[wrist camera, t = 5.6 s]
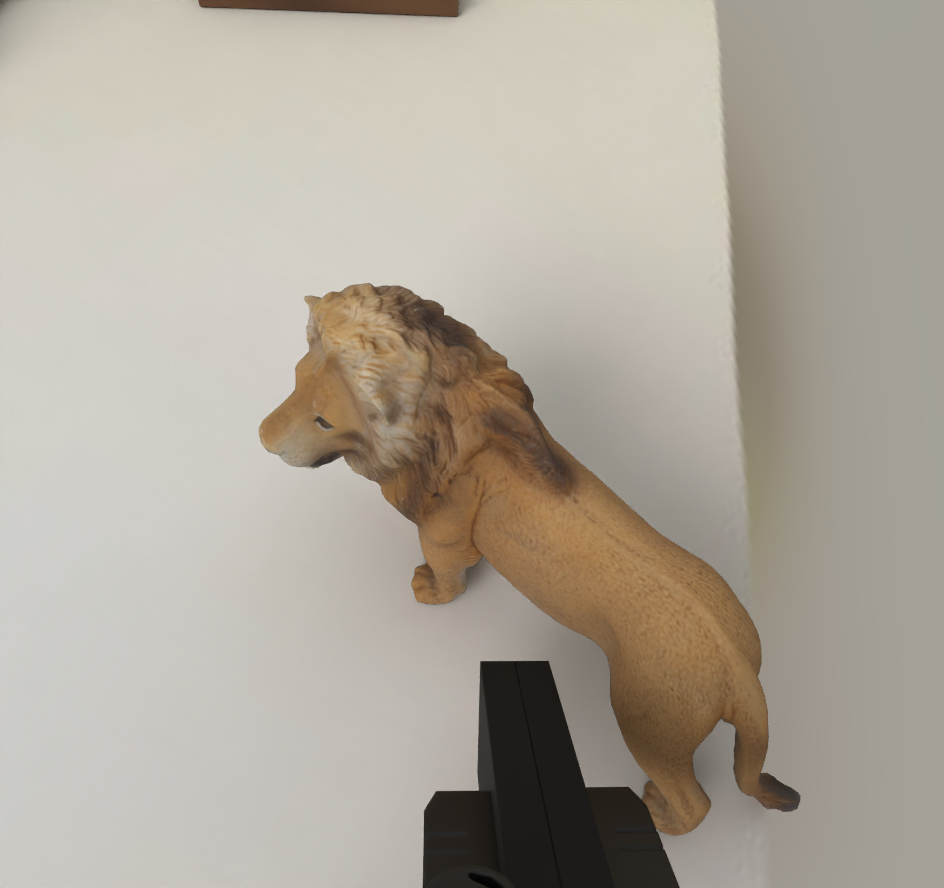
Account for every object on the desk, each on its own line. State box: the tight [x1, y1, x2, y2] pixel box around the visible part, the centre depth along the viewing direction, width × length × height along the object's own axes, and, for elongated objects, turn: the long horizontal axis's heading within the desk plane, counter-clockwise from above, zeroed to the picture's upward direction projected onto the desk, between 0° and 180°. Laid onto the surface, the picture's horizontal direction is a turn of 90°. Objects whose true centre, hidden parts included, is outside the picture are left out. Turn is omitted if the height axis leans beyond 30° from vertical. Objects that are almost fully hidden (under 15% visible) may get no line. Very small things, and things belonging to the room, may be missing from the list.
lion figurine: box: [259, 283, 800, 835], centre depth 18 cm, size 15×5×9 cm, turn 54°
